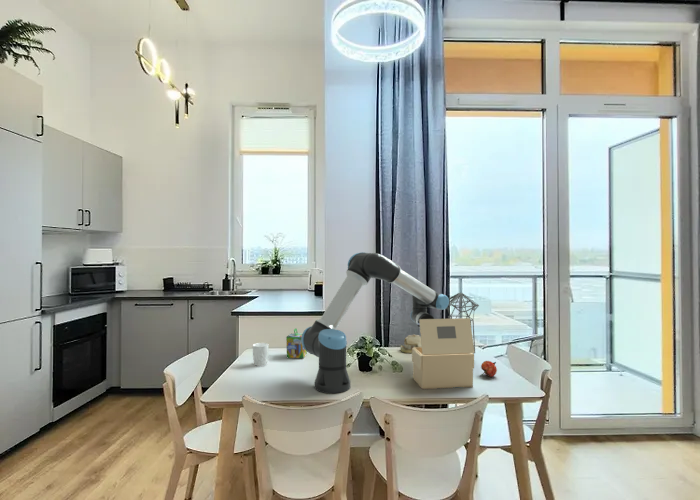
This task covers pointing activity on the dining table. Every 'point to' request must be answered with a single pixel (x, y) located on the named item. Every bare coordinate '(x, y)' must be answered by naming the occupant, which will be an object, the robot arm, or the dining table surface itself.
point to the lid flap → (446, 336)
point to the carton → (442, 369)
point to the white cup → (260, 353)
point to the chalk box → (295, 346)
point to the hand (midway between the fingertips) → (441, 330)
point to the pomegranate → (489, 368)
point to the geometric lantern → (462, 308)
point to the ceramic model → (411, 343)
